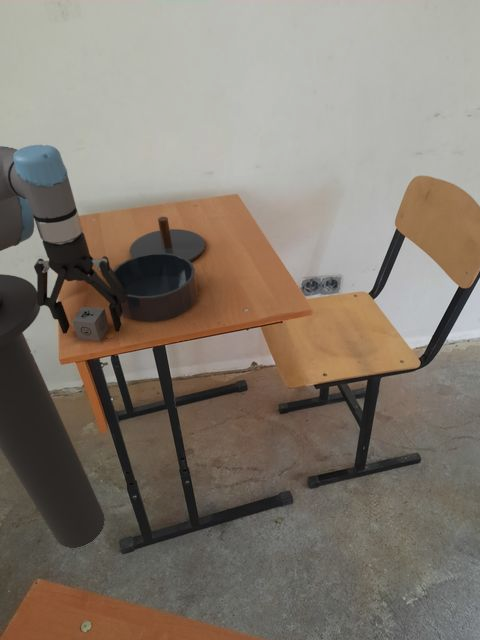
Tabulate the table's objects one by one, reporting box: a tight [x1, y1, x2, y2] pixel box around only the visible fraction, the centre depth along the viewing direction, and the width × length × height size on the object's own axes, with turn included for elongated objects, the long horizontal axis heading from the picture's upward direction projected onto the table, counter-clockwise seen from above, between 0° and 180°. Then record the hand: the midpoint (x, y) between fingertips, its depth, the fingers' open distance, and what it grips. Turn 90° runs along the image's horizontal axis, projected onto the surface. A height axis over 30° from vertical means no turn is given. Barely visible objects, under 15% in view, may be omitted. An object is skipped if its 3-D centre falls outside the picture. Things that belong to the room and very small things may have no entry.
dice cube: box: [71, 306, 110, 342], centre depth 101 cm, size 5×5×5 cm
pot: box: [112, 253, 199, 323], centre depth 111 cm, size 19×19×6 cm
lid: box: [129, 216, 206, 262], centre depth 127 cm, size 20×20×9 cm
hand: (92, 328), depth 102 cm, fingers open, 10 cm apart
